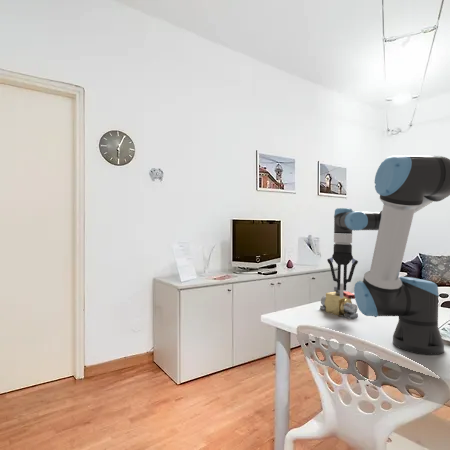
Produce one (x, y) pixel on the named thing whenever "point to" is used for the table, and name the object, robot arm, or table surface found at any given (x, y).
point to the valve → (338, 305)
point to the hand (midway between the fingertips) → (341, 297)
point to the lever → (345, 293)
